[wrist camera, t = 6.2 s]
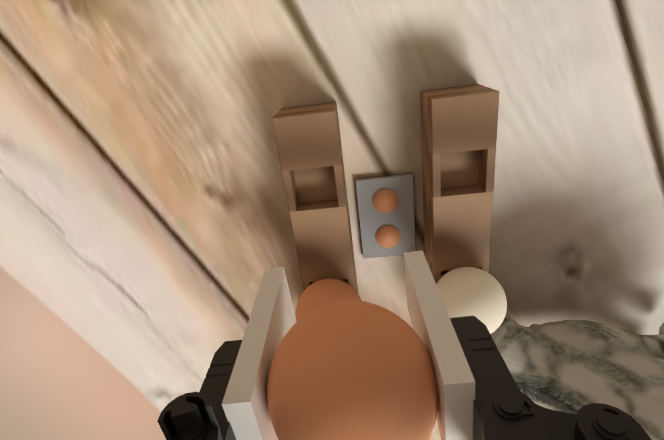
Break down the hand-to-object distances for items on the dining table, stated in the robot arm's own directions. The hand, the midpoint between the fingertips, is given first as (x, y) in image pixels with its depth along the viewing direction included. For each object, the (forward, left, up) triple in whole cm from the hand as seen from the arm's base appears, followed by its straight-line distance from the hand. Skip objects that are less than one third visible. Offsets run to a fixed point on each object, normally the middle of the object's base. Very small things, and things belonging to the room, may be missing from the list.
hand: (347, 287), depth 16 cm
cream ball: (+9, +8, -9) cm, 15 cm away
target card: (+4, +3, -15) cm, 16 cm away
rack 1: (+4, -2, -15) cm, 16 cm away
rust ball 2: (0, 0, +5) cm, 5 cm away
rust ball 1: (+9, -2, -9) cm, 13 cm away
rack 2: (+4, +8, -15) cm, 18 cm away
